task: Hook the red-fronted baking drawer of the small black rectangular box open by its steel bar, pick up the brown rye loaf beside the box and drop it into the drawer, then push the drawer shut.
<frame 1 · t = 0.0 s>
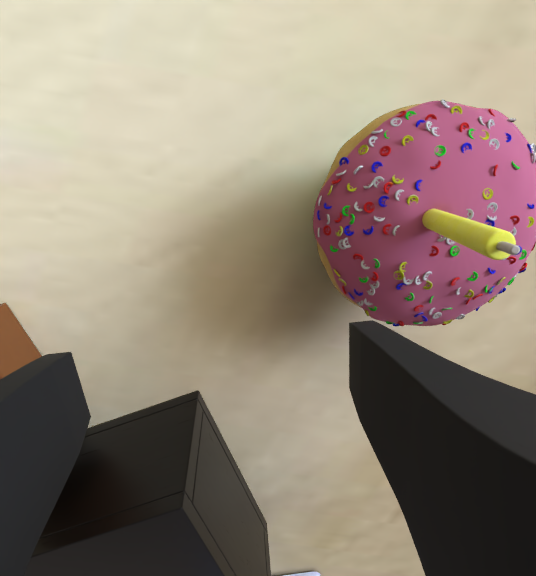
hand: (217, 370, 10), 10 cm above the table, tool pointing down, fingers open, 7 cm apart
cupcake: (384, 200, 20), on the table
black rectangular box: (134, 495, 25), on the table
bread: (5, 366, 21), on the table
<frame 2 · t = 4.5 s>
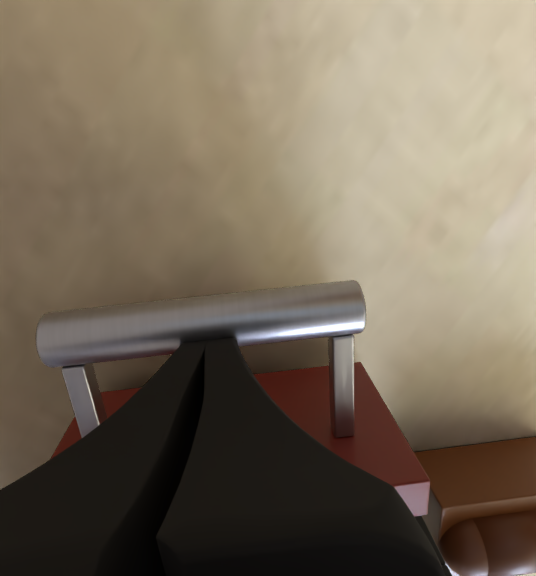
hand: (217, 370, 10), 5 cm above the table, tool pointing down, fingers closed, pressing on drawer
drawer: (238, 519, 14), point 4 cm above the table, slide at 1.8 cm, touching gripper
black rectangular box: (249, 539, 19), on the table
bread: (472, 478, 19), on the table
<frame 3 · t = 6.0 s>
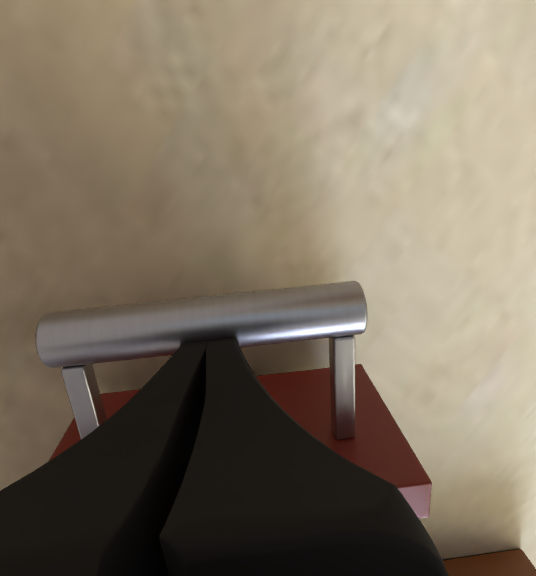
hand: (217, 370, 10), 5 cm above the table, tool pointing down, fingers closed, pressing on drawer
drawer: (238, 522, 14), point 4 cm above the table, slide at 9.0 cm, touching gripper
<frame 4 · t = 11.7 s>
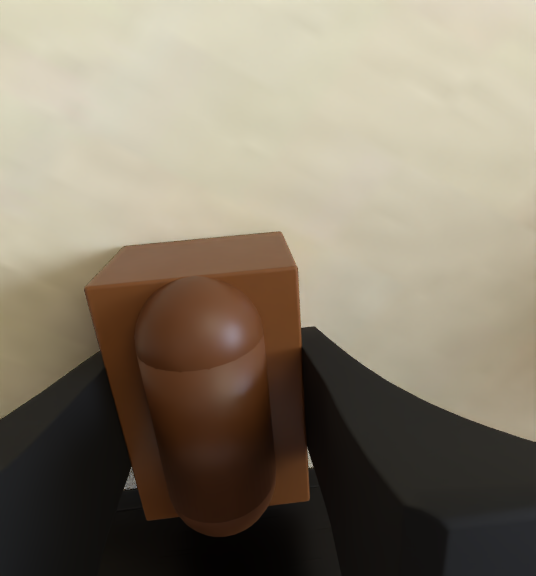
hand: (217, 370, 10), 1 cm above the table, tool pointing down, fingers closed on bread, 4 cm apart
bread: (218, 343, 12), on the table, touching gripper
when the fingers open (4 cm above the table, at t = 16.5 s): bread stays where it is, resting on drawer.
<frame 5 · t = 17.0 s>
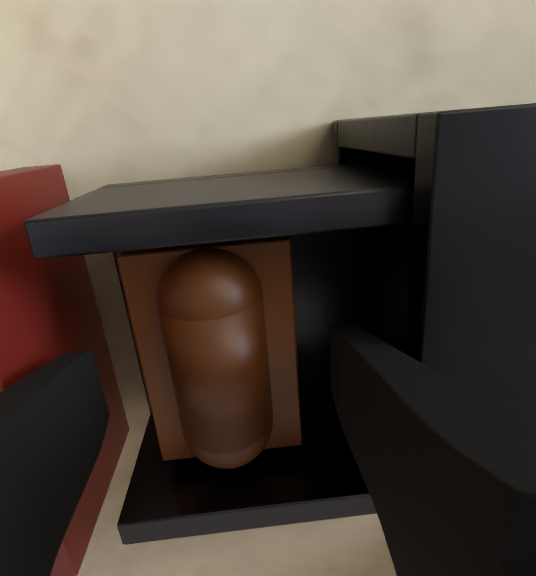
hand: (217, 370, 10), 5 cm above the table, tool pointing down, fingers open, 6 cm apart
drawer: (161, 347, 12), point 4 cm above the table, slide at 8.7 cm, touching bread
black rectangular box: (503, 264, 16), on the table
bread: (223, 314, 13), point 2 cm above the table, touching drawer
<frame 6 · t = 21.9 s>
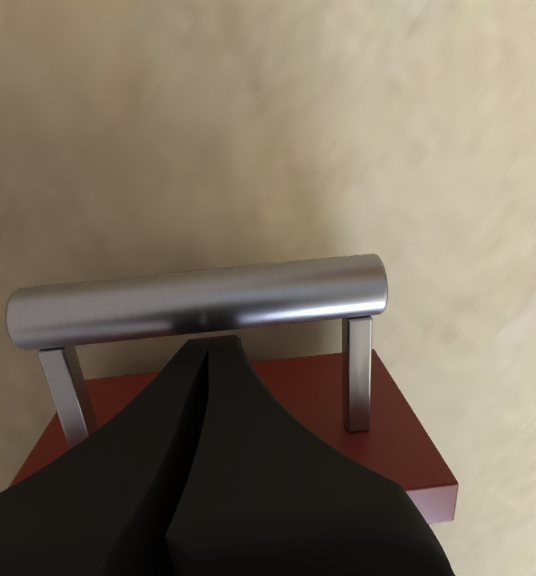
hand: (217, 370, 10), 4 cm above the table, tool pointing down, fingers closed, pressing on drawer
drawer: (239, 518, 13), point 4 cm above the table, slide at 6.7 cm, touching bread, gripper
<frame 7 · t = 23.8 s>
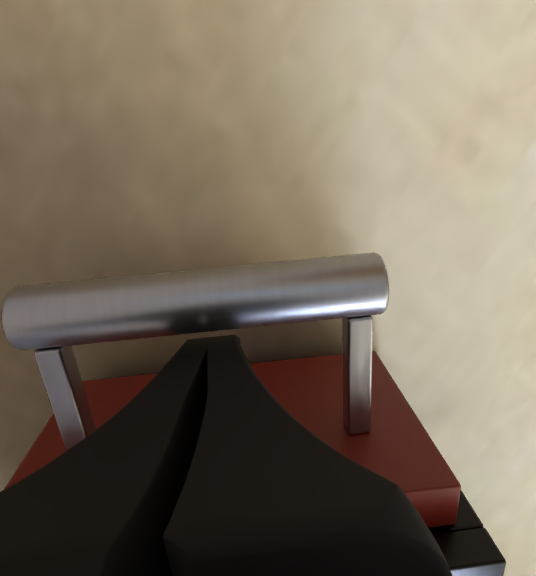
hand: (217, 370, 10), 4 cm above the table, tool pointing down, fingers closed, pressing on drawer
drawer: (238, 522, 12), point 4 cm above the table, slide at 0.0 cm, touching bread, gripper, black rectangular box
black rectangular box: (247, 510, 18), on the table
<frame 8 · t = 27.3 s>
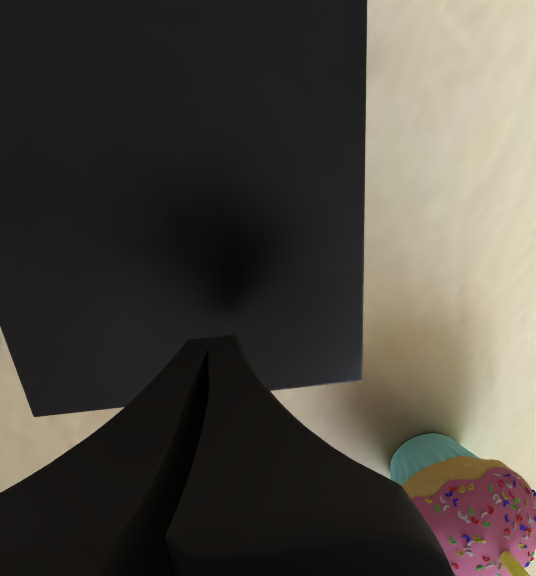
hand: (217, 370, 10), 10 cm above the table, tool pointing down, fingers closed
cupcake: (423, 460, 26), on the table
black rectangular box: (193, 177, 19), on the table
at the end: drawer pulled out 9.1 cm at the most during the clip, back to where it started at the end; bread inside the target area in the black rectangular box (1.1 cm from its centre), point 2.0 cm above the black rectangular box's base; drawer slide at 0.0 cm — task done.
